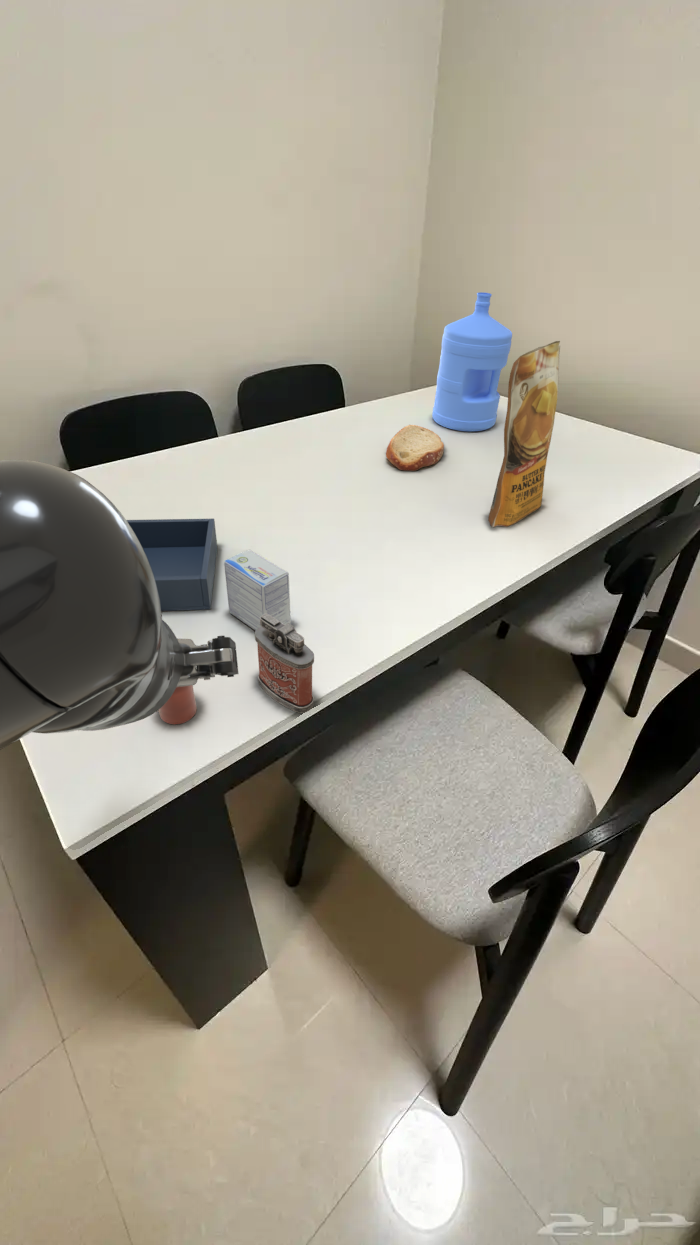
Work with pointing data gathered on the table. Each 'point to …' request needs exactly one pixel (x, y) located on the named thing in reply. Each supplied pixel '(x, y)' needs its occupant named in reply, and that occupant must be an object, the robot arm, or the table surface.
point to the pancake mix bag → (526, 435)
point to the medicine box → (256, 589)
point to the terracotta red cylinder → (179, 706)
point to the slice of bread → (414, 448)
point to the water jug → (471, 370)
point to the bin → (180, 560)
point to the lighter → (284, 664)
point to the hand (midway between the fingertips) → (150, 671)
